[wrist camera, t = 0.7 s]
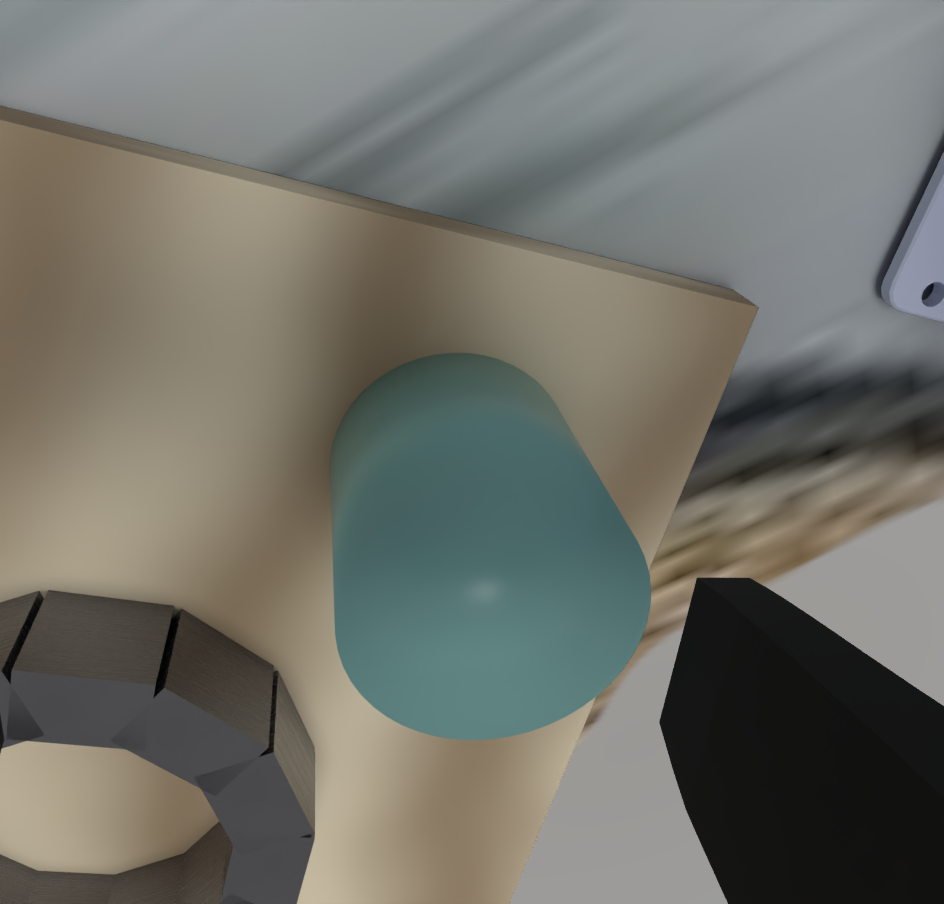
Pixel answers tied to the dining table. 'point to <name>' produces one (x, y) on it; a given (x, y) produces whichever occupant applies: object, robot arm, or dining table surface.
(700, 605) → the robot arm
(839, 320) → the dining table surface
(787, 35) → the dining table surface
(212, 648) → the grey faceted ring
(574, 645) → the cap
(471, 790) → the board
